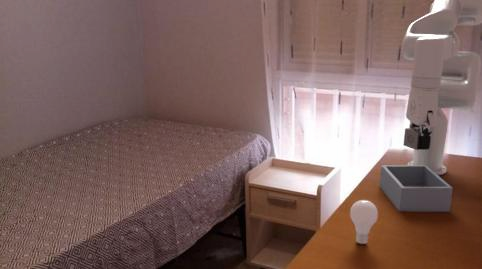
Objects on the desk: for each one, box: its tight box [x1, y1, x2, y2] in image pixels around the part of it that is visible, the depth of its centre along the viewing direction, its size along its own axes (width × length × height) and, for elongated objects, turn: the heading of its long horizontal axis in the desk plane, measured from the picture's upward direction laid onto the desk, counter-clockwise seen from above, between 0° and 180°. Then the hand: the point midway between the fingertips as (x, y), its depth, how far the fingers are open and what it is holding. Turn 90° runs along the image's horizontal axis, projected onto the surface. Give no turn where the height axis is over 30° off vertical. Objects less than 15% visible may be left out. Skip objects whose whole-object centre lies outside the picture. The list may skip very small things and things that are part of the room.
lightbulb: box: [349, 199, 379, 245], centre depth 108 cm, size 6×6×11 cm
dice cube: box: [403, 127, 431, 150], centre depth 129 cm, size 5×5×5 cm
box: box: [379, 164, 454, 213], centre depth 133 cm, size 18×14×7 cm
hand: (418, 145), depth 130 cm, fingers closed on dice cube, 5 cm apart
